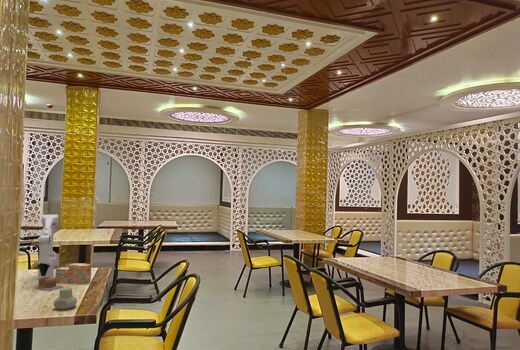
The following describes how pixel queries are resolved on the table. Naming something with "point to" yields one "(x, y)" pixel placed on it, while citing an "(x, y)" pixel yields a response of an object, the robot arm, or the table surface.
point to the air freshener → (65, 299)
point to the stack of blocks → (74, 274)
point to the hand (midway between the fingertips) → (43, 275)
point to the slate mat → (50, 288)
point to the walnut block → (47, 282)
